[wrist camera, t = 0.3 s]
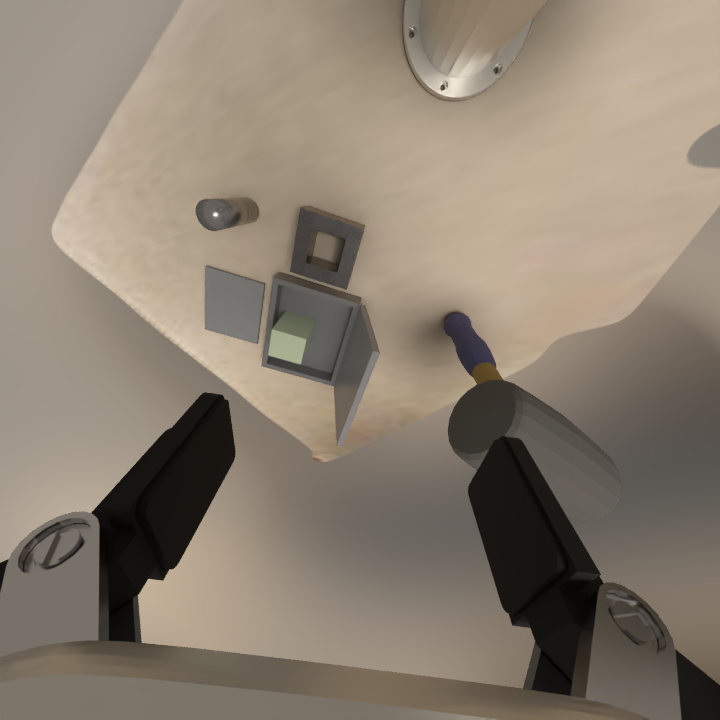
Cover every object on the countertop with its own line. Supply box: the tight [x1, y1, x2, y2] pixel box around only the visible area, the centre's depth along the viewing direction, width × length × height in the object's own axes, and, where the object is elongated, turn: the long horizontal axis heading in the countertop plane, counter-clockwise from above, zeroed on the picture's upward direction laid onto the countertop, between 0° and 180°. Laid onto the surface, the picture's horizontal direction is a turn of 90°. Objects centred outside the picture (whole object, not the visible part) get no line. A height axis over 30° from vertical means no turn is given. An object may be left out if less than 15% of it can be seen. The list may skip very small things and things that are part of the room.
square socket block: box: [290, 206, 365, 290], centre depth 38 cm, size 8×8×4 cm
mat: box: [205, 266, 265, 344], centre depth 45 cm, size 11×9×1 cm
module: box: [268, 311, 316, 364], centre depth 43 cm, size 4×5×7 cm
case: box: [262, 272, 361, 386], centre depth 46 cm, size 16×13×3 cm
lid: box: [334, 304, 380, 446], centre depth 40 cm, size 16×13×1 cm
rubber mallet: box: [444, 313, 622, 522], centre depth 32 cm, size 12×8×30 cm, turn 54°
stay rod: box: [196, 198, 259, 231], centre depth 34 cm, size 3×3×10 cm
